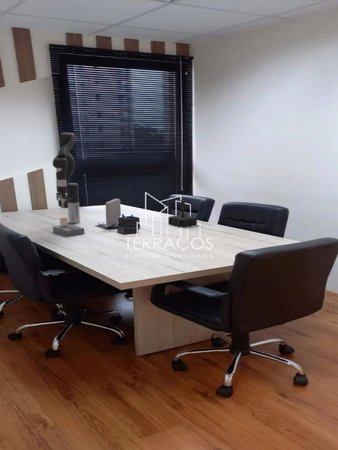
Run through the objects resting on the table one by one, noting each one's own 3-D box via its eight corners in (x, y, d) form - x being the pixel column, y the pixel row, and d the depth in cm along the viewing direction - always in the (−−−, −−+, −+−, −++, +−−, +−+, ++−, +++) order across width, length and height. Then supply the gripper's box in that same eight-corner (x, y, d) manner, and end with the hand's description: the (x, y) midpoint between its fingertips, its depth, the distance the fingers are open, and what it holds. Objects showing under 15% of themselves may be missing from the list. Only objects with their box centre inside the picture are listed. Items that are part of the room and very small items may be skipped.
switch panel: (53, 231, 320) (52, 226, 319) (69, 229, 329) (69, 224, 328) (67, 236, 304) (67, 231, 303) (84, 233, 313) (84, 228, 312)
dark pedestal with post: (166, 224, 344) (166, 200, 340) (181, 222, 355) (181, 198, 351) (182, 228, 330) (182, 202, 326) (197, 225, 341) (197, 200, 337)
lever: (60, 226, 320) (59, 218, 319) (66, 225, 323) (65, 217, 322) (62, 226, 318) (61, 218, 316) (68, 225, 321) (67, 217, 320)
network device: (113, 228, 332) (112, 202, 328) (103, 227, 334) (102, 202, 330) (123, 222, 357) (122, 198, 353) (113, 221, 358) (112, 198, 354)
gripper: (70, 185, 311) (72, 207, 315) (61, 184, 322) (62, 205, 325) (61, 186, 307) (62, 208, 310) (52, 185, 317) (53, 206, 320)
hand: (62, 206), depth 318 cm, fingers open, 8 cm apart
